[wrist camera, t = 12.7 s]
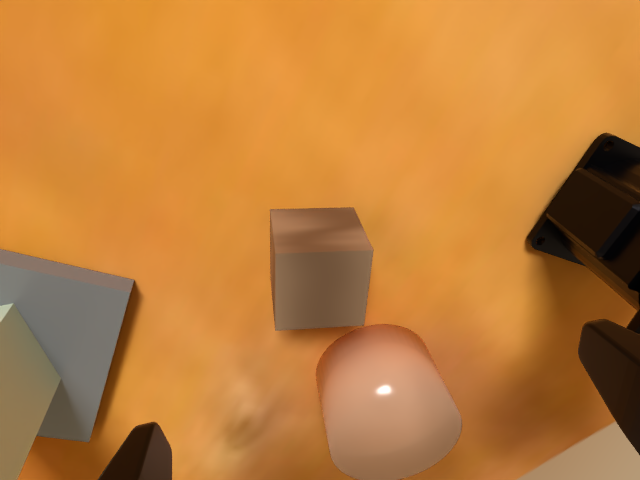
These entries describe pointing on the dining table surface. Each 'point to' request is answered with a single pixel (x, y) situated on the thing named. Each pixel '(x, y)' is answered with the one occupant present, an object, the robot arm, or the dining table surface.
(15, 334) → the sage block
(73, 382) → the slate trivet
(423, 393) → the peach cylinder
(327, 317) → the walnut block
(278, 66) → the dining table surface
